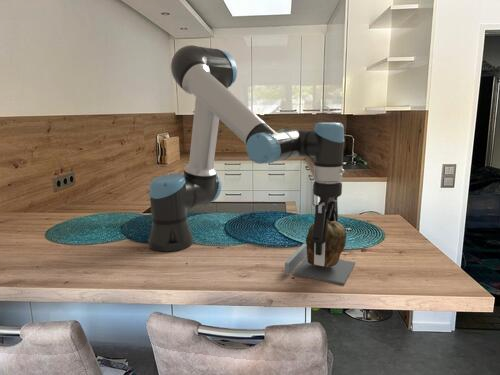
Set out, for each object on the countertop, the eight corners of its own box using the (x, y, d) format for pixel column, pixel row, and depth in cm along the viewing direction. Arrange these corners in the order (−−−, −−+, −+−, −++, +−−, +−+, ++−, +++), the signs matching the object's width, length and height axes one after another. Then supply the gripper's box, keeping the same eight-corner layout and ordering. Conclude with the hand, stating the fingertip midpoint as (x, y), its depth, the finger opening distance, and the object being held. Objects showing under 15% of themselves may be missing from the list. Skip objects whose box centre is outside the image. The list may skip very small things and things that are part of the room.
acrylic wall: (284, 274, 99) (284, 262, 98) (303, 253, 113) (303, 243, 112) (288, 275, 99) (288, 263, 98) (307, 254, 112) (307, 243, 112)
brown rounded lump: (346, 271, 95) (348, 229, 93) (304, 268, 97) (305, 226, 95) (344, 255, 106) (345, 216, 103) (306, 252, 108) (307, 214, 105)
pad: (293, 274, 99) (293, 272, 99) (309, 255, 111) (309, 254, 111) (344, 285, 93) (344, 282, 93) (355, 264, 105) (355, 262, 105)
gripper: (330, 191, 84) (327, 276, 89) (351, 174, 105) (347, 244, 110) (299, 188, 88) (298, 271, 93) (325, 172, 108) (323, 240, 113)
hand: (325, 256), depth 101 cm, fingers closed on brown rounded lump, 11 cm apart
